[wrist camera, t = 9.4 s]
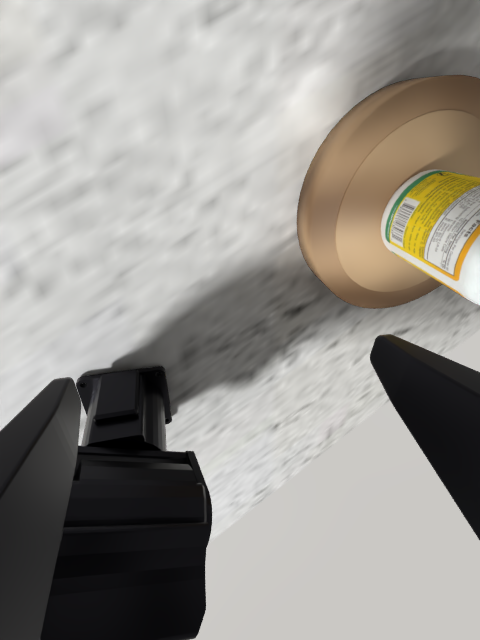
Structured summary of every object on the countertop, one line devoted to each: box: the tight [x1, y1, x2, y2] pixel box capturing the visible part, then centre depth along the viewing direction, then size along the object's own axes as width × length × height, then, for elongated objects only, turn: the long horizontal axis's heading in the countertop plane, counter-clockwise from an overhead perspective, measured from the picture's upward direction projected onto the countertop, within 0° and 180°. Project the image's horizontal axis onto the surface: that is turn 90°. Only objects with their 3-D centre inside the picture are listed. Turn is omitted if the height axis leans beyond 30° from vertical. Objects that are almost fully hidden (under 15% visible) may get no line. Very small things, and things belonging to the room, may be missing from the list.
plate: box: [297, 75, 480, 309], centre depth 21 cm, size 14×14×3 cm
